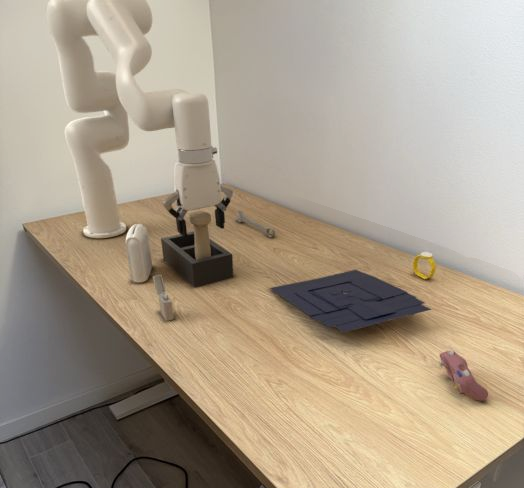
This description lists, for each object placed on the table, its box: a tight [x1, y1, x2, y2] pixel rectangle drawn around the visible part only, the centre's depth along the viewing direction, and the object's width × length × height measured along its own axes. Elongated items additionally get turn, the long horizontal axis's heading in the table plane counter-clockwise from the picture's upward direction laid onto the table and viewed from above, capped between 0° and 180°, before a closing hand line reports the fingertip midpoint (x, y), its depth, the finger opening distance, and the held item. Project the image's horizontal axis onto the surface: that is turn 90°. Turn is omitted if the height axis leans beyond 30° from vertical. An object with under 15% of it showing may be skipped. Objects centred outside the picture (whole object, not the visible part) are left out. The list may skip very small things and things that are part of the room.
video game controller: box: [438, 349, 489, 402], centre depth 86 cm, size 10×5×7 cm, turn 5°
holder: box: [160, 230, 234, 288], centre depth 130 cm, size 20×11×6 cm, turn 31°
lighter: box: [152, 274, 175, 322], centre depth 109 cm, size 7×2×8 cm, turn 26°
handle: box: [188, 210, 212, 260], centre depth 124 cm, size 5×6×15 cm
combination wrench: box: [235, 209, 276, 238], centre depth 154 cm, size 4×1×20 cm
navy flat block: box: [269, 269, 433, 333], centre depth 112 cm, size 24×30×4 cm
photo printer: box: [125, 223, 153, 284], centre depth 125 cm, size 10×4×12 cm, turn 2°
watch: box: [412, 251, 437, 280], centre depth 123 cm, size 6×3×6 cm, turn 33°
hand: (201, 231), depth 122 cm, fingers open, 9 cm apart
